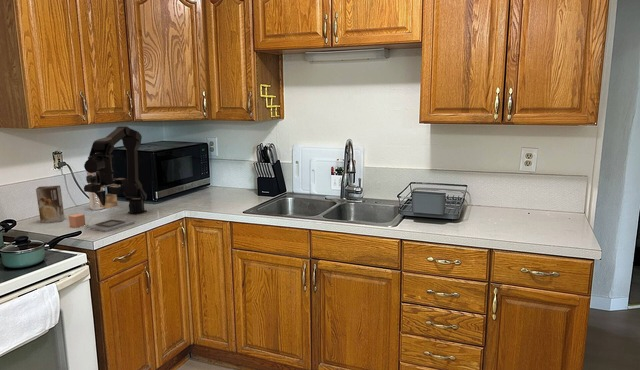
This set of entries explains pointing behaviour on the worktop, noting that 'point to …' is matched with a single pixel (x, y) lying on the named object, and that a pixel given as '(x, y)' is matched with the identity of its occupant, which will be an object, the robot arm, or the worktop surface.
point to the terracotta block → (77, 220)
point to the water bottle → (94, 197)
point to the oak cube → (109, 201)
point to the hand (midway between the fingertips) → (108, 204)
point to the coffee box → (50, 204)
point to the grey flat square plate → (110, 224)
